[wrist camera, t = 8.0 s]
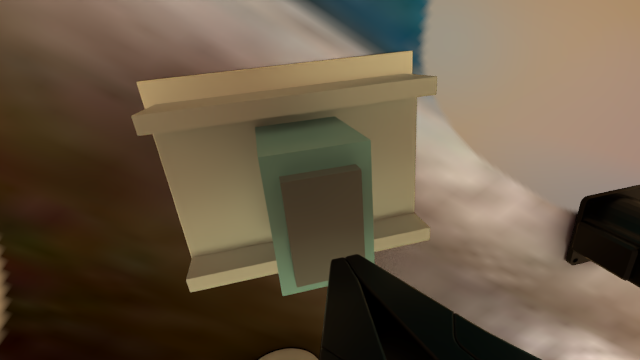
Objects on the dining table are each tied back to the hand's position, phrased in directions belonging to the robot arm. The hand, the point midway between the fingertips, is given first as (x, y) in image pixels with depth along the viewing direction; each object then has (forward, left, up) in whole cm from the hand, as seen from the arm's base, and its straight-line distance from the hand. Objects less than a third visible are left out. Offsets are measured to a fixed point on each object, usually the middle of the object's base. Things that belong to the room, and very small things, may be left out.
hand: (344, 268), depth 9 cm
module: (0, 0, -8) cm, 8 cm away
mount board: (0, 0, -10) cm, 10 cm away
